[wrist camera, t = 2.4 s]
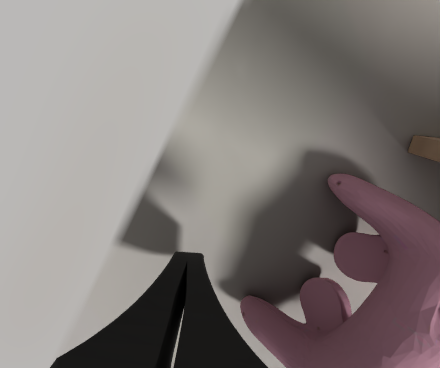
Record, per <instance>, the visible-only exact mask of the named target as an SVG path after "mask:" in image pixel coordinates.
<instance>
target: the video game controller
mask: <svg viewBox="0 0 440 368" xmlns="http://www.w3.org/2000/svg"><path fill="white" fill-rule="evenodd" d="M328 185H329V187H330V189H331V190H332V192H333V193H334V194H335V195H336V196H337V197H338V199H339V200H340V201H341V202H342V203H343V204H344V205H345V206H347V207H348V208H349V209H350V210H352V211H353V212H354V213H356V214H357V215H358V216H359V217H361V218H362V219H363V220H365V221H366V222H367V223H368V224H370V225H371V226H372V227H373V228H374V229H375V230H376V231H377V232H378V233H379V234H380V235H369V234H364V233H357V232H350V233H346V234H344V235H343V236H341V237H340V238H339V240H338V241H337V243H336V245H335V248H334V260H335V263H336V265H337V267H338V268H339V269H340V270H341V272H342V273H344V274H345V275H346V276H348V277H350V278H352V279H354V280H357V281H362V282H375V283H378V284H377V285H376V287H375V288H374V289H373V291H372V292H371V294H370V295H369V296H368V297H367V299H366V300H365V301H364V302H363V303H362V305H361V306H360V307H359V308H358V309H357V311H356V312H355V313H353V314H352V313H351V306H350V302H349V299H348V297H347V295H346V293H345V292H344V290H343V289H342V287H341V286H340V285H339V284H338V283H336V282H335V281H333V280H331V279H328V278H311V279H309V280H307V281H306V282H305V283H304V284H303V286H302V287H301V290H300V301H301V306H302V309H303V312H304V315H305V319H306V323H305V324H303V323H301V322H298V321H296V320H294V319H292V318H290V317H289V316H288V315H286V314H285V313H283V312H282V311H280V310H279V309H278V308H276V307H275V306H273V305H272V304H270V303H268V302H266V301H264V300H262V299H260V298H257V297H253V296H246V297H244V298H243V299H242V301H241V304H240V308H241V313H242V316H243V319H244V321H245V323H246V325H247V326H248V328H249V329H250V331H251V332H252V334H253V335H254V336H255V337H256V338H257V339H258V340H259V341H260V342H261V343H262V344H263V345H264V346H265V347H266V348H267V349H268V350H269V351H270V352H271V353H272V354H273V355H274V356H275V357H276V358H277V359H278V360H279V361H280V362H281V363H282V364H283V365H284V366H285V367H286V368H440V222H439V221H438V220H436V219H435V218H434V217H432V216H431V215H429V214H428V213H426V212H425V211H423V210H421V209H420V208H418V207H417V206H415V205H413V204H412V203H410V202H408V201H406V200H404V199H402V198H400V197H398V196H396V195H394V194H392V193H390V192H388V191H386V190H384V189H381V188H379V187H377V186H375V185H373V184H371V183H369V182H366V181H364V180H362V179H360V178H357V177H355V176H352V175H348V174H332V175H331V176H330V177H329V178H328Z"/></svg>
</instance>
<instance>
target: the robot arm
mask: <svg viewBox="0 0 440 368" xmlns="http://www.w3.org/2000/svg"><path fill="white" fill-rule="evenodd" d="M183 309H184V314H183ZM182 314H183V320H182V326H181V331H180V337H179V342H178V348H177V353H176V358H175V363H174V368H268V367H267V366H266V365H265V364H264V363H263V362H262V361H261V360H260V359H259V357H258V356H257V355H256V354H255V353H254V352H253V351H252V349H251V348H250V347H249V346H248V345H247V343H246V342H245V341H244V340H243V338H242V337H241V335H240V334H239V333H238V331H237V330H236V329H235V327H234V326H233V324H232V323H231V321H230V320H229V318H228V317H227V315H226V313H225V312H224V310H223V308H222V306H221V304H220V303H219V301H218V299H217V296H216V294H215V292H214V290H213V288H212V285H211V282H210V280H209V277H208V274H207V271H206V267H205V263H204V256H203V254H202V253H189V252H175V253H174V255H173V257H172V258H171V260H170V261H169V263H168V264H167V266H166V267H165V269H164V270H163V271H162V273H161V274H160V275H159V276H158V278H157V279H156V280H155V281H154V283H153V284H152V285H151V286H150V287H149V288H148V289H147V290H146V292H145V293H144V294H143V295H142V296H141V297H140V298H139V299H138V300H137V301H136V302H135V303H134V304H133V305H132V306H130V307H129V308H128V309H127V310H126V311H125V312H124V313H122V314H121V315H120V316H119V317H118V318H117V319H115V320H114V321H113V322H112V323H110V324H109V325H108V326H106V327H105V328H103V329H102V330H101V331H99V332H98V333H97V334H95V335H94V336H92V337H91V338H89V339H88V340H87V341H85V342H83V343H82V344H80V345H79V346H77V347H75V348H74V349H72V350H70V351H69V352H67V353H65V354H64V355H62V356H60V357H58V358H57V359H56V360H55V362H54V363H53V364H52V366H51V367H50V368H171V362H172V357H173V352H174V348H175V344H176V339H177V335H178V331H179V327H180V322H181V318H182Z"/></svg>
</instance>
